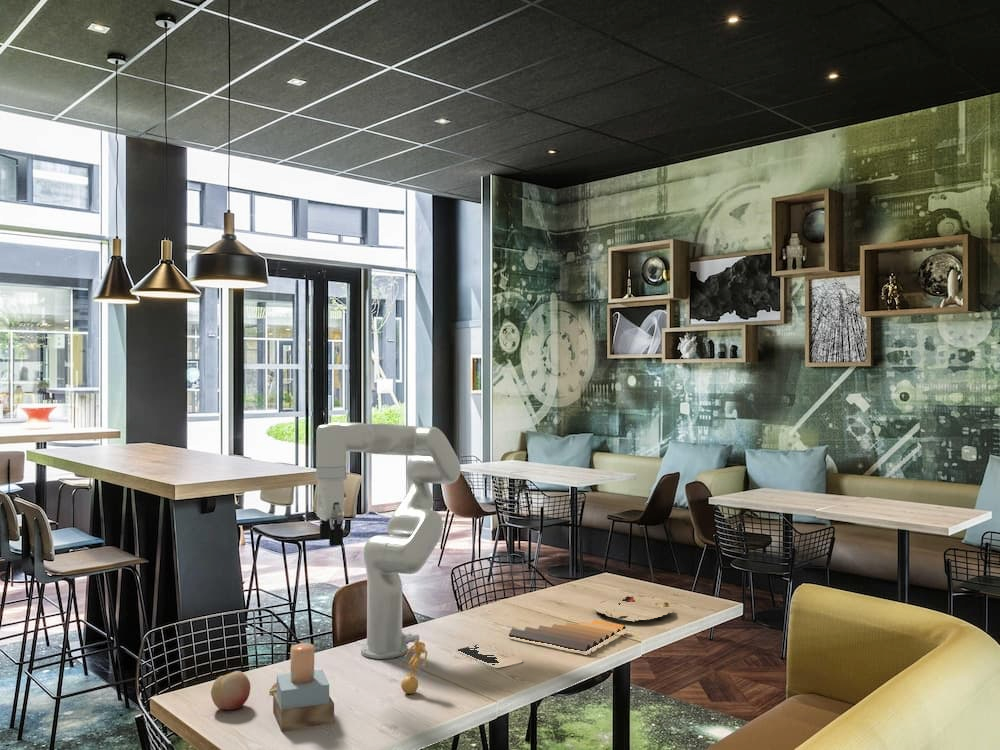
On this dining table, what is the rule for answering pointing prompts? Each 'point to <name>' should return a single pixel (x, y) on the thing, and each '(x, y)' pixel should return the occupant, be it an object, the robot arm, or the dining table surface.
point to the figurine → (413, 668)
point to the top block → (302, 691)
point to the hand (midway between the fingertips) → (331, 542)
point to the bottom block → (303, 715)
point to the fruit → (230, 690)
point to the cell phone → (478, 655)
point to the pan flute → (570, 634)
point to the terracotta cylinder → (302, 663)
